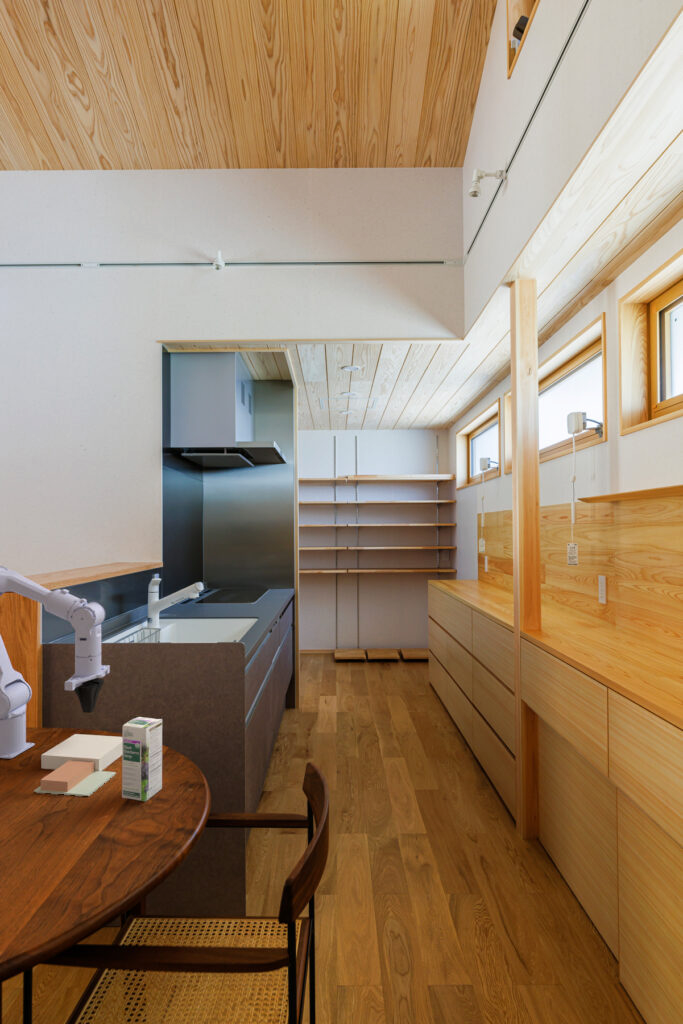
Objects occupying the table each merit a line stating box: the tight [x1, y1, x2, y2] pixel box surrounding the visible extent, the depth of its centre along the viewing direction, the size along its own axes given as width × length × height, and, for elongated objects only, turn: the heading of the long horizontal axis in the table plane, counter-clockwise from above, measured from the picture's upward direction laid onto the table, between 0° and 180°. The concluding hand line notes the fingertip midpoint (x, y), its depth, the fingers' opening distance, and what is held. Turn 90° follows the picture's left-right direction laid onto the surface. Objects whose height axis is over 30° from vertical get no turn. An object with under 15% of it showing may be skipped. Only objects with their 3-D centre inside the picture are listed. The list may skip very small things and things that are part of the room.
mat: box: [33, 770, 117, 797], centre depth 117 cm, size 12×10×1 cm
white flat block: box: [40, 733, 122, 771], centre depth 129 cm, size 14×12×3 cm
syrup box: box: [121, 716, 163, 803], centre depth 113 cm, size 6×6×14 cm
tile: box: [40, 761, 94, 792], centre depth 117 cm, size 6×9×2 cm, turn 171°
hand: (88, 711), depth 133 cm, fingers closed
